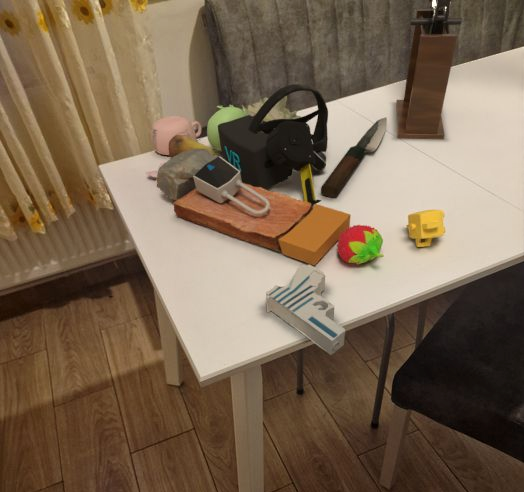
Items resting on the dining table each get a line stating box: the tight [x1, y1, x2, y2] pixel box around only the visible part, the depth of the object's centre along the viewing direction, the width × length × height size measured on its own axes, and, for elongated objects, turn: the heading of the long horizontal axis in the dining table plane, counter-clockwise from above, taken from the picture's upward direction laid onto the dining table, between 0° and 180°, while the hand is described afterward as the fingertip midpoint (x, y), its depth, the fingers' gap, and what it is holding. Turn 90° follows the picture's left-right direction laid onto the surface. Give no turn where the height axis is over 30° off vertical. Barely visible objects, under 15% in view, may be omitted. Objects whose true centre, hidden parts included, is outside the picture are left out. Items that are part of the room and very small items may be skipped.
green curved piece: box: [206, 104, 249, 152], centre depth 109 cm, size 12×11×11 cm
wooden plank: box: [173, 183, 351, 266], centre depth 90 cm, size 13×30×3 cm, turn 56°
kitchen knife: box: [320, 117, 388, 198], centre depth 106 cm, size 36×2×5 cm
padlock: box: [193, 155, 270, 215], centre depth 89 cm, size 7×4×15 cm
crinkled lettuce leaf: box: [241, 95, 302, 122], centre depth 116 cm, size 16×8×15 cm
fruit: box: [169, 135, 222, 158], centre depth 107 cm, size 6×6×12 cm
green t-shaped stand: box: [409, 17, 463, 34], centre depth 108 cm, size 6×10×16 cm, turn 81°
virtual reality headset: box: [218, 83, 329, 190], centre depth 100 cm, size 19×22×15 cm
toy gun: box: [265, 264, 346, 356], centre depth 73 cm, size 3×14×10 cm
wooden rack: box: [395, 8, 458, 140], centre depth 110 cm, size 19×10×20 cm, turn 171°
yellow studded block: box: [406, 209, 446, 248], centre depth 83 cm, size 8×6×5 cm
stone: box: [156, 149, 218, 201], centre depth 97 cm, size 12×8×8 cm
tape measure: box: [266, 121, 322, 207], centre depth 91 cm, size 15×4×8 cm
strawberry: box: [336, 224, 384, 266], centre depth 81 cm, size 6×7×10 cm
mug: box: [150, 115, 202, 156], centre depth 112 cm, size 12×10×6 cm
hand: (433, 36), depth 104 cm, fingers open, 8 cm apart
